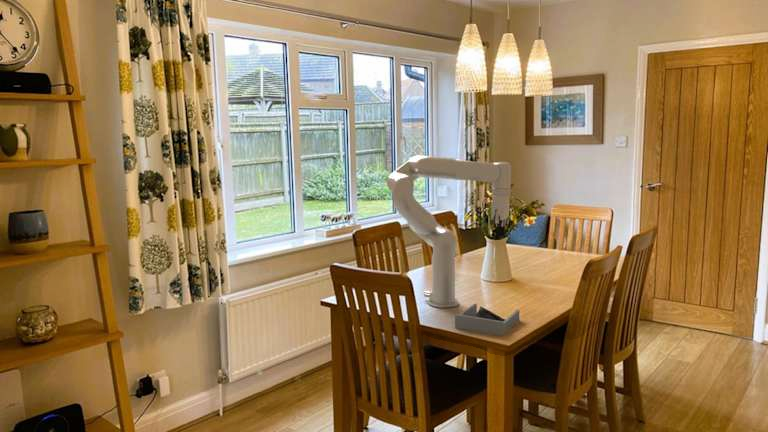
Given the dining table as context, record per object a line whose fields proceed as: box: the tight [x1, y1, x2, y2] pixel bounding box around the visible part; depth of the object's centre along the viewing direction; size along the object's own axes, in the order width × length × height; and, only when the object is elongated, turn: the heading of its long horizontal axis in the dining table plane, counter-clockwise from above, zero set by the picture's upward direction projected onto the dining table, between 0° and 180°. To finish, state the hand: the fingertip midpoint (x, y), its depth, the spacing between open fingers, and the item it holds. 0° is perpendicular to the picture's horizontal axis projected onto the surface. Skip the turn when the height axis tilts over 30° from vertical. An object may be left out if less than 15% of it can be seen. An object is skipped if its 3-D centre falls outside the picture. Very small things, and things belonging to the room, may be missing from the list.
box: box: [454, 303, 520, 337], centre depth 213 cm, size 18×19×5 cm
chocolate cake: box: [475, 306, 506, 321], centre depth 213 cm, size 10×7×12 cm
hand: (500, 235), depth 241 cm, fingers closed
